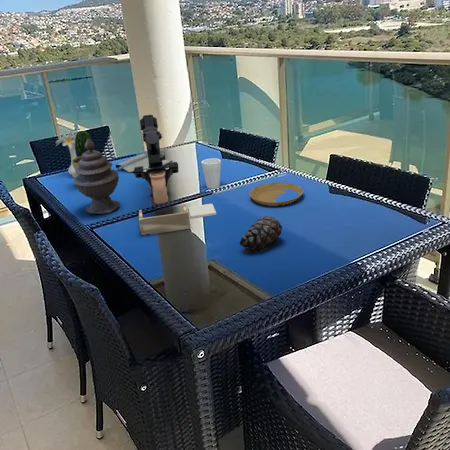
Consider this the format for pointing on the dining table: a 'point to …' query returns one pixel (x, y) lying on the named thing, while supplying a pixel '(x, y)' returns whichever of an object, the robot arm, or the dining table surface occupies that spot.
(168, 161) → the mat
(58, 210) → the dining table surface
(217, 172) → the foam cup
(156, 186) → the terracotta pot
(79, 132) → the potted cactus
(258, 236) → the pine cone
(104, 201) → the decorative urn
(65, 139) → the flower vase
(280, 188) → the plant saucer
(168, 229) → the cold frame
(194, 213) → the stone tile
